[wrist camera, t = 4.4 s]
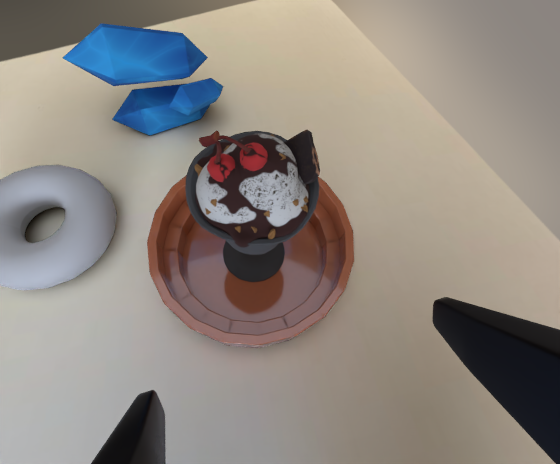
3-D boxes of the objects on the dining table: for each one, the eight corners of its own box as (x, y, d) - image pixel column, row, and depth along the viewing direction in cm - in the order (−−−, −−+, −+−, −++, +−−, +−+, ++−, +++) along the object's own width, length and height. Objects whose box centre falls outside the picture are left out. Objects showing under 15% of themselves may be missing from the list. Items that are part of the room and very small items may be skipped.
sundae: (200, 283, 23) (119, 161, 9) (226, 208, 26) (193, 27, 12) (285, 303, 23) (331, 211, 9) (301, 225, 25) (356, 63, 12)
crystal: (240, 64, 24) (61, 66, 18) (226, 143, 31) (94, 161, 26) (208, 8, 26) (43, -4, 21) (202, 93, 33) (78, 100, 28)
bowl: (371, 248, 26) (390, 229, 22) (261, 392, 21) (263, 399, 17) (248, 155, 29) (247, 125, 25) (125, 262, 23) (102, 243, 20)
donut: (144, 250, 24) (96, 161, 27) (128, 234, 21) (75, 135, 24) (10, 321, 21) (-29, 214, 24) (-32, 315, 18) (-71, 192, 21)
